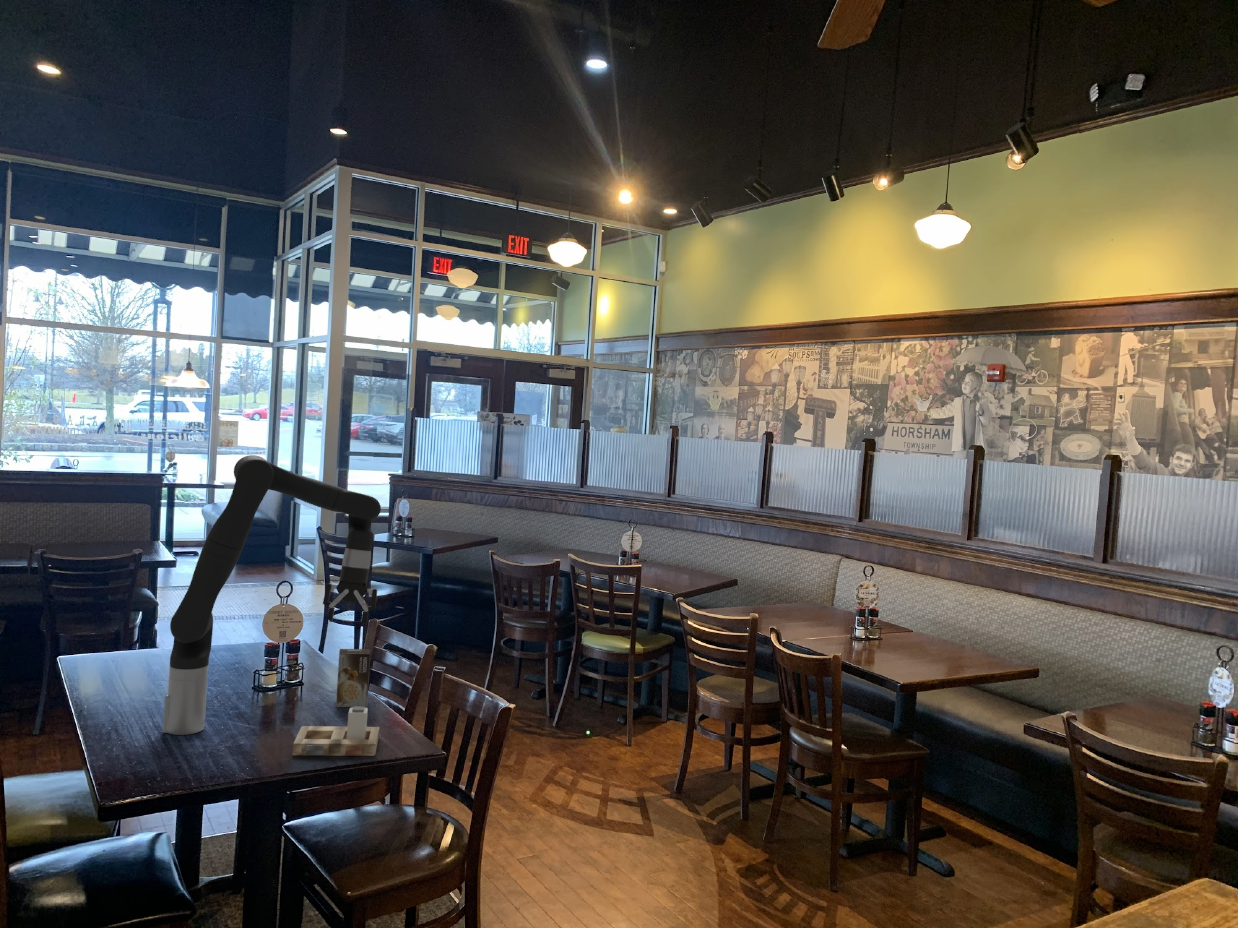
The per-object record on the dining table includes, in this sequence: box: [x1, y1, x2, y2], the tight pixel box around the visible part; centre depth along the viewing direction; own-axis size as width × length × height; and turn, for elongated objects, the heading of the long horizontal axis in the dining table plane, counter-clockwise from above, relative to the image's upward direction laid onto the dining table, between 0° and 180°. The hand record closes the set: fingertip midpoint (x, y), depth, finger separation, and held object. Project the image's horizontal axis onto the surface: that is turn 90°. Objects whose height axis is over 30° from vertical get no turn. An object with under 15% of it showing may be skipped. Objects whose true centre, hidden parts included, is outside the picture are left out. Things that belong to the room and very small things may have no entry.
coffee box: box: [335, 648, 371, 708], centre depth 261 cm, size 9×6×16 cm
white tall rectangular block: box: [346, 706, 369, 740], centre depth 227 cm, size 4×4×10 cm
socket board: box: [292, 725, 380, 757], centre depth 226 cm, size 20×14×3 cm
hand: (346, 623), depth 244 cm, fingers open, 8 cm apart
